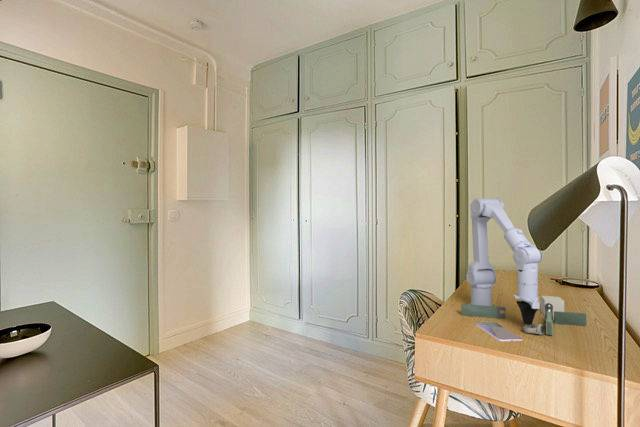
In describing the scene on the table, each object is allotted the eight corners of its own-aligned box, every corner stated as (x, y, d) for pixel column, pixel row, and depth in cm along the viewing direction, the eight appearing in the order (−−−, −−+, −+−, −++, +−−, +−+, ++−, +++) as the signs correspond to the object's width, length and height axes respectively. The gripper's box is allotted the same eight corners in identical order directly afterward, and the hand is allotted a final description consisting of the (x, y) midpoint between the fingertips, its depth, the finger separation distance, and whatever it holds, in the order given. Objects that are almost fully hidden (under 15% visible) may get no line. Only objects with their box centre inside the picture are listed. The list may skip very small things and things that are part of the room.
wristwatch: (538, 331, 105) (550, 334, 100) (520, 333, 105) (531, 337, 100) (536, 320, 105) (547, 323, 100) (518, 322, 105) (529, 326, 100)
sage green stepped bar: (546, 322, 111) (546, 309, 111) (551, 323, 110) (551, 310, 110) (546, 334, 100) (546, 320, 100) (552, 335, 100) (552, 321, 99)
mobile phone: (499, 339, 97) (474, 321, 112) (499, 342, 97) (474, 324, 112) (524, 338, 97) (495, 321, 112) (524, 341, 97) (495, 324, 112)
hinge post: (543, 321, 113) (543, 302, 113) (583, 324, 110) (583, 304, 110) (546, 323, 111) (546, 304, 111) (587, 326, 107) (587, 306, 107)
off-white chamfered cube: (564, 317, 117) (564, 301, 117) (544, 315, 119) (544, 299, 119) (559, 312, 122) (559, 296, 122) (540, 310, 125) (540, 295, 125)
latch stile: (461, 314, 121) (461, 303, 121) (504, 317, 117) (504, 306, 117) (461, 315, 120) (461, 305, 120) (505, 318, 116) (505, 307, 116)
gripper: (507, 277, 114) (507, 316, 114) (521, 287, 100) (521, 331, 100) (530, 278, 112) (530, 317, 112) (547, 289, 98) (547, 333, 98)
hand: (527, 324), depth 106 cm, fingers closed
